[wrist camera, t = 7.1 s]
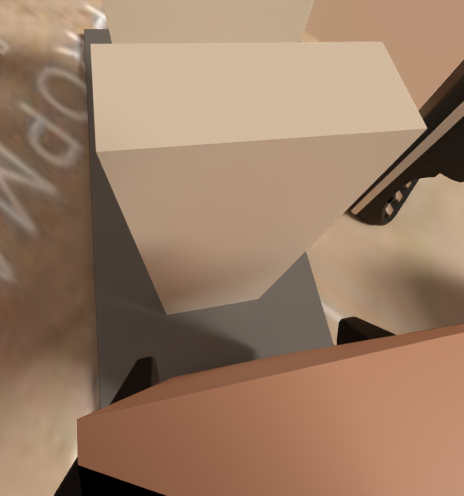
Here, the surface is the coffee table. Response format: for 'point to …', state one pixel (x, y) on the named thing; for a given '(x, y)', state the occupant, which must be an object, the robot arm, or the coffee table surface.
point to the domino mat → (185, 323)
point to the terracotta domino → (291, 426)
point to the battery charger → (422, 154)
